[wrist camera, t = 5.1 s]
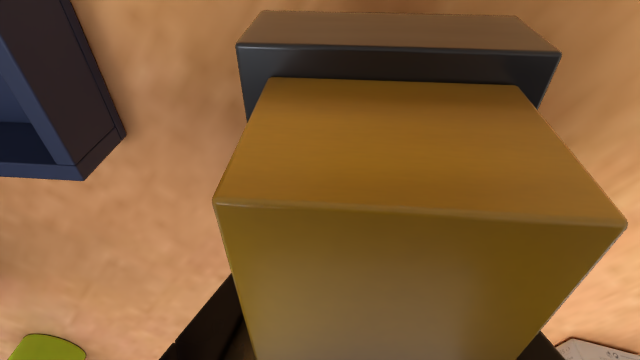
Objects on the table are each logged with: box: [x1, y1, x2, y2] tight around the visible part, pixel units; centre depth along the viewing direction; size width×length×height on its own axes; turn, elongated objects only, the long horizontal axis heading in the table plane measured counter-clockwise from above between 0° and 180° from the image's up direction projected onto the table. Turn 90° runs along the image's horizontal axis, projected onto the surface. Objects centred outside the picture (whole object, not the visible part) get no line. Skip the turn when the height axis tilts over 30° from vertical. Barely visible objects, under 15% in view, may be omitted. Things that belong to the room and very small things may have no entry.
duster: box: [212, 10, 628, 360], centre depth 9 cm, size 12×5×5 cm, turn 0°
